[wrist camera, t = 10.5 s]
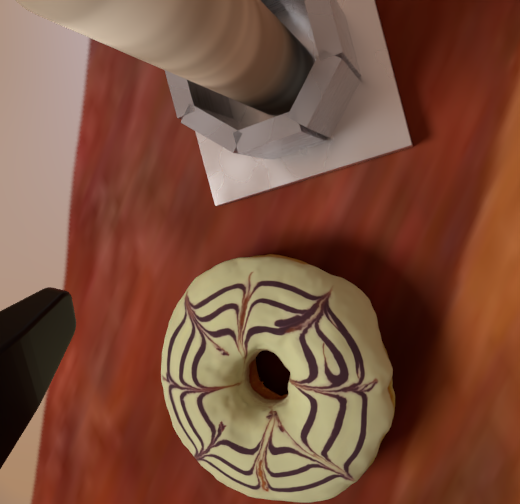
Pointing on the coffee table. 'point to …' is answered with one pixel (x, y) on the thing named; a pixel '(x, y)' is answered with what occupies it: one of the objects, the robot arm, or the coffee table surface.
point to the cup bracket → (303, 106)
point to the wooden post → (197, 43)
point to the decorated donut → (299, 386)
